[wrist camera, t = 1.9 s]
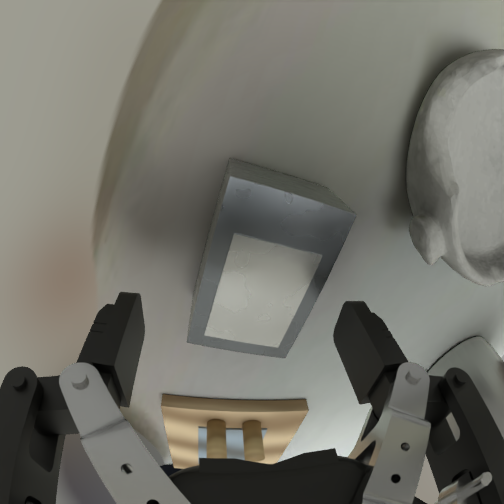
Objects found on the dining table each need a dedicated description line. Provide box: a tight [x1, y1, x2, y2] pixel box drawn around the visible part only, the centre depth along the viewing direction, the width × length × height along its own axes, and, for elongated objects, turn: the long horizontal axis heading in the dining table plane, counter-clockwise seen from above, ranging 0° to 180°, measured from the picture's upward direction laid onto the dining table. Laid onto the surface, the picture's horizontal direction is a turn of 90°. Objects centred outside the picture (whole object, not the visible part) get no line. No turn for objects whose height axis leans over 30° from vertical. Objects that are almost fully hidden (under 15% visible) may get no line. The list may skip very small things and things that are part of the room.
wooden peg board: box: [161, 394, 309, 469], centre depth 23 cm, size 16×12×5 cm
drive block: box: [187, 158, 356, 358], centre depth 14 cm, size 5×8×4 cm, turn 163°
